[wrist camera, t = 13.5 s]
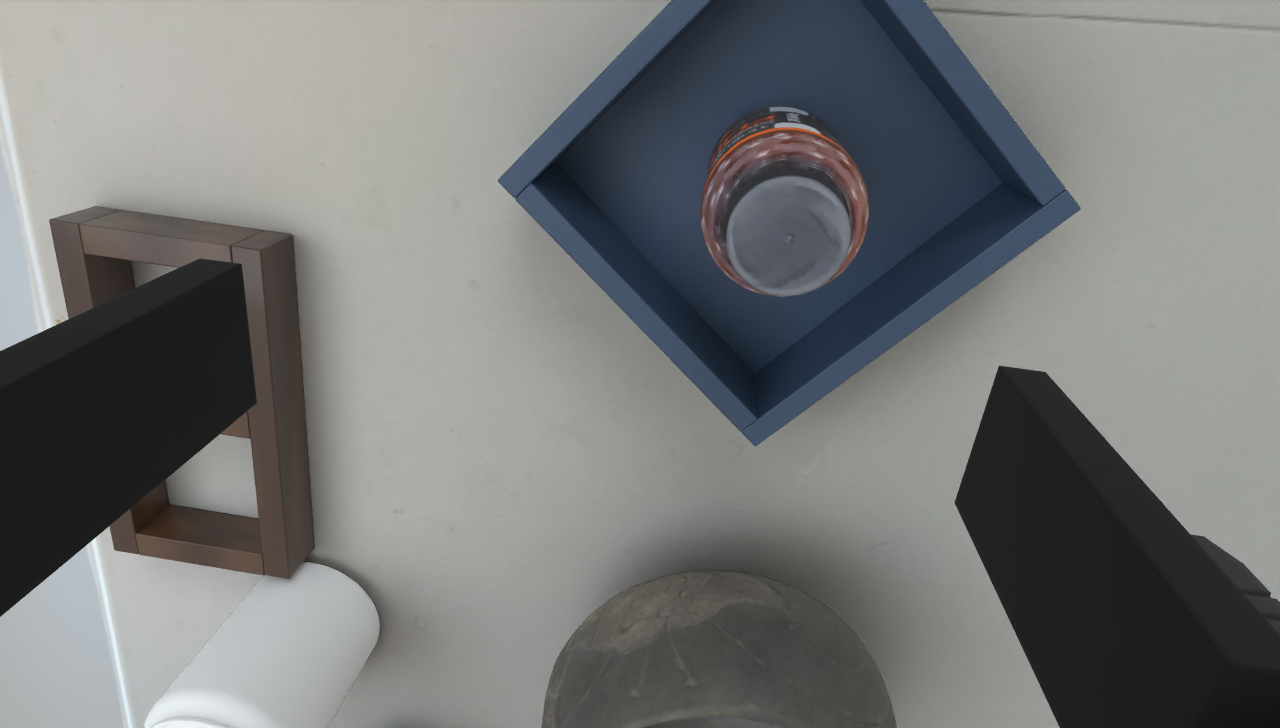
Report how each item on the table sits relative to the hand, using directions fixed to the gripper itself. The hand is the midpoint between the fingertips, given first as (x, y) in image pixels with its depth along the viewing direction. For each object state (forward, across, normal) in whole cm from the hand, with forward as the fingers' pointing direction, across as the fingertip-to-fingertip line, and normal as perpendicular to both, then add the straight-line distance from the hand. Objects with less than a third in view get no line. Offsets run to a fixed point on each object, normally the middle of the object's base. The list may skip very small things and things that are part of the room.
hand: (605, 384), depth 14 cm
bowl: (+24, +6, -28) cm, 37 cm away
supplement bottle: (+24, +4, 0) cm, 24 cm away
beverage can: (+25, -19, -30) cm, 43 cm away
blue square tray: (+24, +4, 0) cm, 25 cm away
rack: (+25, -24, -16) cm, 38 cm away
